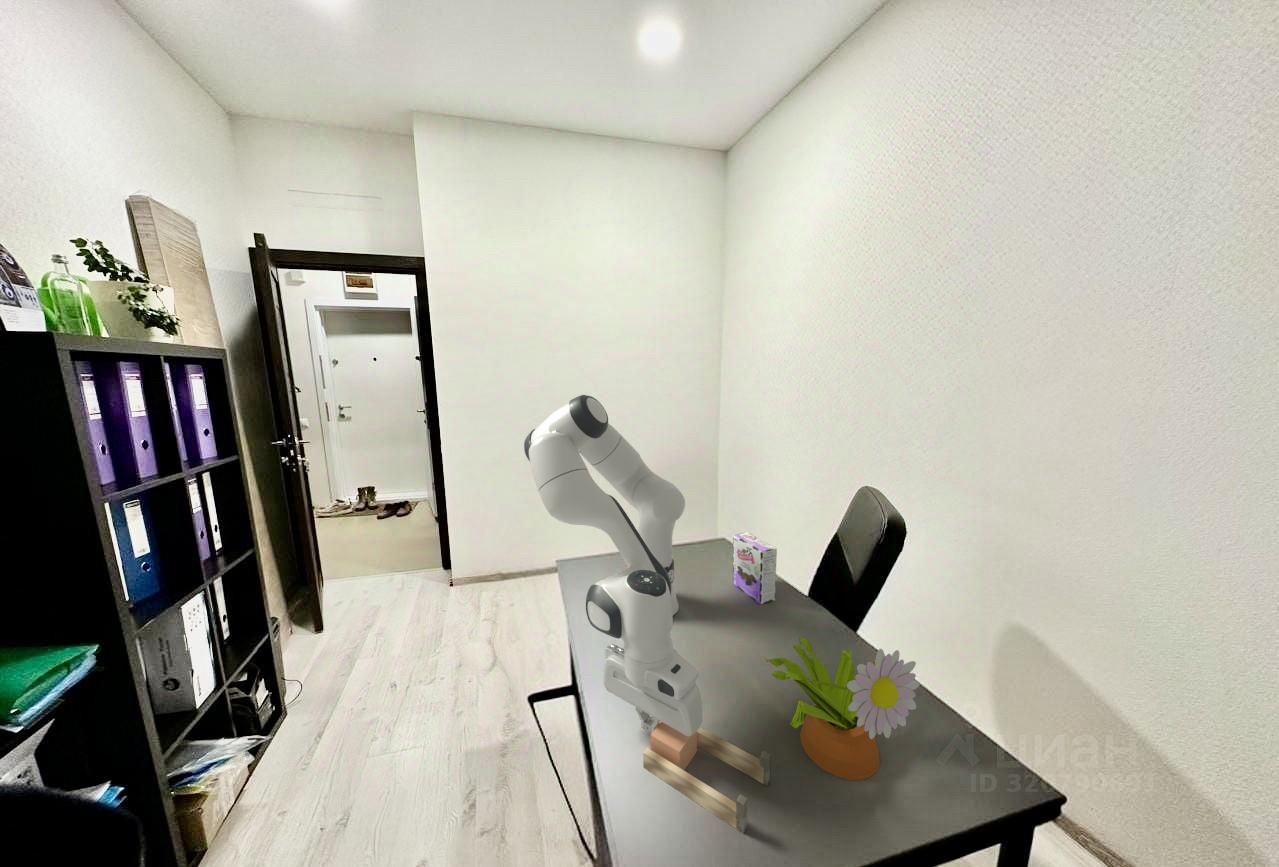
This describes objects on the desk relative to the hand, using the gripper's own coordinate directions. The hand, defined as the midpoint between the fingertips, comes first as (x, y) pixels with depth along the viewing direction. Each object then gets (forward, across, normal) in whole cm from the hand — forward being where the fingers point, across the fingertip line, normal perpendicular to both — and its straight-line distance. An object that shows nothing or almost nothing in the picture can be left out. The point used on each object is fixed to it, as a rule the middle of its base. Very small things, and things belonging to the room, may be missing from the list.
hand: (650, 729), depth 81 cm
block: (+3, +5, 0) cm, 6 cm away
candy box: (+3, -6, +62) cm, 62 cm away
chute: (+3, +11, 0) cm, 11 cm away
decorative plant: (+3, +28, +21) cm, 35 cm away
